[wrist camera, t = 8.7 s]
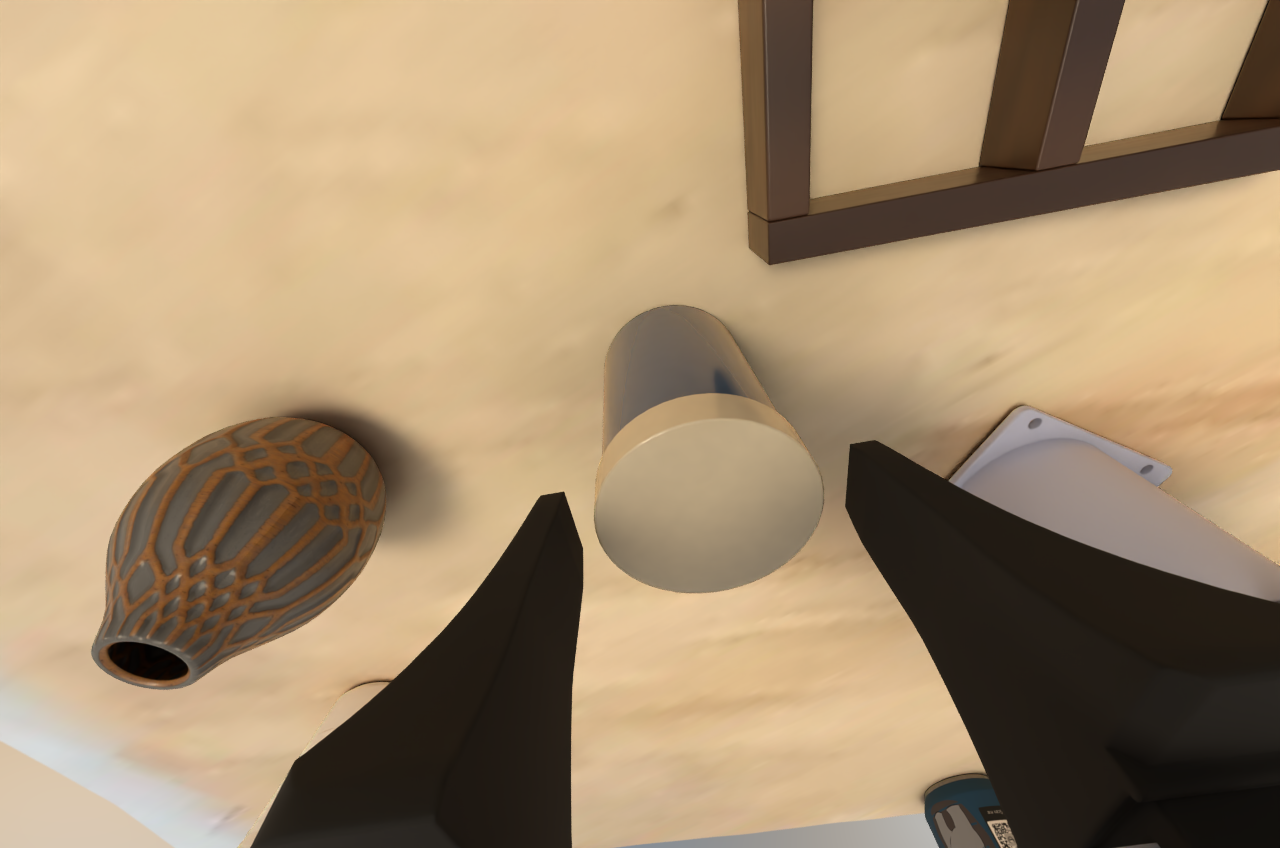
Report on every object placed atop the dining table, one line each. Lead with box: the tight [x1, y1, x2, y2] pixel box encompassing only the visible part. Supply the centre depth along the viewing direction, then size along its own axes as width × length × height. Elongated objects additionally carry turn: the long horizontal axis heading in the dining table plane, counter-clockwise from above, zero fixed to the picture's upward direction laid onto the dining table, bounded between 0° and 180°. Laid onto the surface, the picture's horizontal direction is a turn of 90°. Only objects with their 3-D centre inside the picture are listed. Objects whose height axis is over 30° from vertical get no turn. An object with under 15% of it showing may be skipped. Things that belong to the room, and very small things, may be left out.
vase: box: [91, 417, 386, 690], centre depth 16 cm, size 7×7×9 cm
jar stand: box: [738, 0, 1280, 265], centre depth 12 cm, size 9×16×2 cm, turn 100°
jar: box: [594, 305, 824, 593], centre depth 15 cm, size 6×6×8 cm
